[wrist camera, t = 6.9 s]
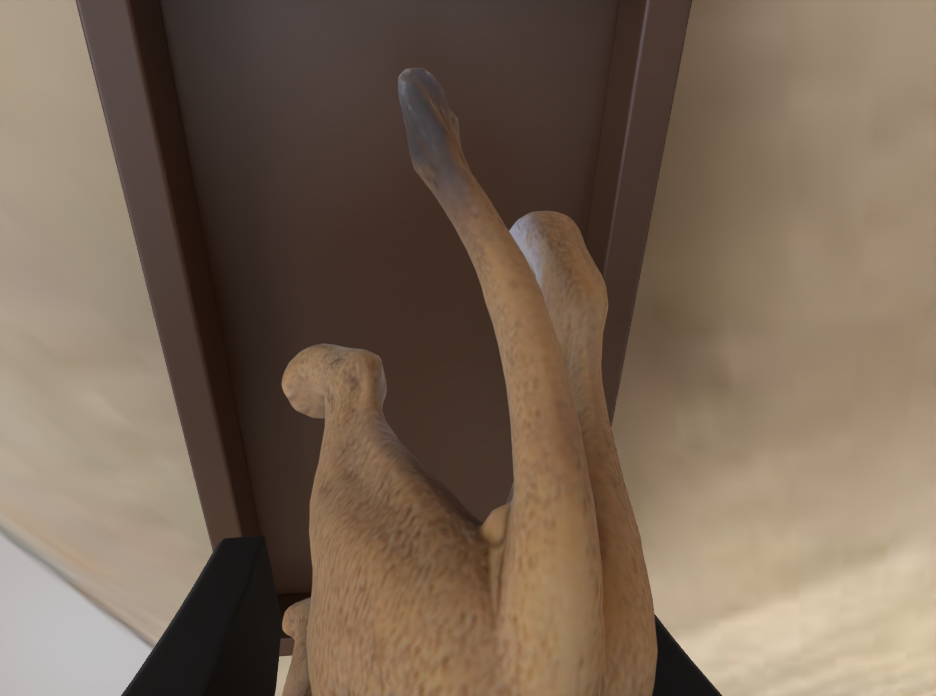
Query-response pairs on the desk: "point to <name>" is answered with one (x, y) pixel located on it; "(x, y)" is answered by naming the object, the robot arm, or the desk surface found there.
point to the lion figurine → (439, 510)
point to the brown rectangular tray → (365, 215)
